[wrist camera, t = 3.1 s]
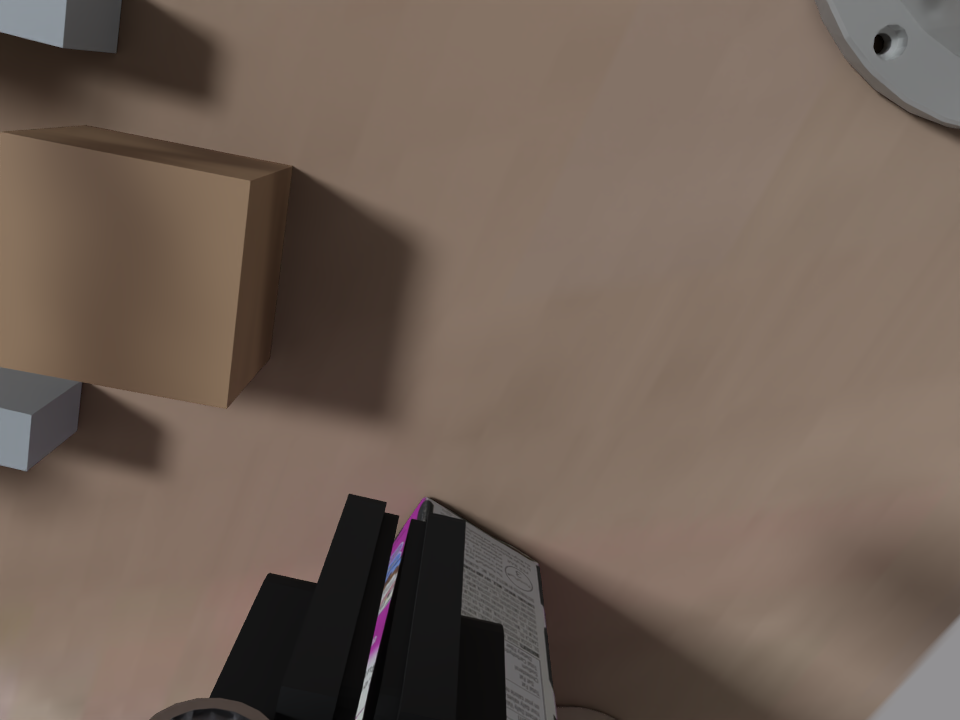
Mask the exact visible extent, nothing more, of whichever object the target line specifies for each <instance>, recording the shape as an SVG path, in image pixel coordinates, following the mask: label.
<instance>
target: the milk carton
mask: <svg viewBox="0 0 960 720" xmlns="http://www.w3.org/2000/svg"><path fill="white" fill-rule="evenodd" d="M428 512H432V513H436V514H441V515H445V516H449V517H454V518H458V519H463V518H462V517H460V516H459V515H457V514H455V513H454V512H452V511H451V510H449V509H447V508H445V507H443V506H441V505H440V504H438V503H436V502H435V501H433V500H432V499H430V498H428V497H424V498H423V499H422V500H421V502H420V503H419V505H418V506H417V508H416V509H415V511H414V512H413V514H412V515H411V516H410V518H409V519H408V521H407V522H406V524H405V525H404V527H403V528H402V530H401V531H400V532H399V534H398V535H397V537H396V538H395V540H394V543H393V547H392V552H391V557H390V561H389V566H388V571H387V575H386V580H385V585H384V589H383V594H382V599H381V603H380V608H379V613H378V617H377V622H376V627H375V632H374V636H373V641H372V646H371V650H370V655H369V660H368V664H367V669H366V674H365V678H364V683H363V688H362V692H361V696H360V701H359V705H358V709H357V714H356V718H355V720H362V718H363V713H364V708H365V703H366V699H367V694H368V690H369V685H370V681H371V677H372V673H373V669H374V665H375V661H376V657H377V653H378V649H379V645H380V641H381V637H382V633H383V629H384V625H385V621H386V617H387V613H388V609H389V605H390V601H391V597H392V593H393V589H394V585H395V581H396V577H397V573H398V569H399V565H400V561H401V557H402V553H403V548H404V544H405V540H406V536H407V532H408V528H409V525H410V521H411V518H412V519H416V520H421V521H426V517H427V514H428ZM463 520H465V519H463ZM461 615H464V616H468V617H473V618H477V619H482V620H486V621H491V622H495V623H500V624H502V625H503V629H504V647H505V680H506V713H507V720H557V710H556V703H555V694H554V691H553V681H552V674H551V663H550V655H549V644H548V636H547V628H546V618H545V610H544V602H543V592H542V584H541V575H540V567H539V564H538V563H537V562H536V561H534V560H533V559H531V558H530V557H528V556H527V555H525V554H524V553H522V552H521V551H519V550H518V549H516V548H515V547H513V546H511V545H509V544H507V543H505V542H503V541H501V540H499V539H497V538H495V537H493V536H491V535H489V534H487V533H486V532H484V531H482V530H481V529H479V528H477V527H476V526H474V525H473V524H471V523H470V522H468V521H467V520H466V531H465V550H464V569H463V588H462V607H461Z"/></svg>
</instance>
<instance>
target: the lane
mask: <svg viewBox="0 0 960 720" xmlns="http://www.w3.org/2000/svg"><path fill="white" fill-rule="evenodd" d="M121 3H122V0H0V32H3V33H6V34H10V35H14V36H18V37H22V38H26V39H30V40H34V41H38V42H42V43H45V44H49V45H53V46H57V47H61V48H68V49H78V50H88V51H98V52H107V53H116V51H117V42H118V32H119V23H120V13H121ZM81 388H82V382H78V381H73V380H67V379H62V378H57V377H51V376H46V375H40V374H35V373H30V372H24V371H19V370H13V369H8V368H3V367H0V465H2V466H6V467H10V468H15V469H19V470H24V471H28V470H29V469H30V468H31V467H33V466H34V465H35V464H36V463H38V462H39V461H40V460H41V459H43V458H44V457H45V456H46V455H48V454H49V453H50V452H51V451H53V450H54V449H55V448H56V447H57V446H59V445H60V444H61V443H62V442H64V441H65V440H66V439H67V438H69V437H70V436H71V435H72V434H74V433H75V432H76V431H77V426H78V417H79V407H80V397H81Z"/></svg>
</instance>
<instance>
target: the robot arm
mask: <svg viewBox="0 0 960 720" xmlns="http://www.w3.org/2000/svg"><path fill="white" fill-rule="evenodd" d="M815 2H816V5H817V7H818V10H819V13H820V16H821V19H822V21H823V23H824V25H825V26H826V28H827V30H828V31H829V33H830V35H831V36H832V38H833V39H834V41H835V43H836V44H837V46H838V48H839V49H840V51H841V53H842V54H843V56H844V57H845V59H846V60H847V61H848V62H849V63H850V64H851V65H852V66H853V67H854V68H855V69H856V70H857V72H858V73H859V74H860V75H861V76H862V77H863V78H864V79H865V80H866V81H867V82H868V83H869V84H870V85H871V86H872V87H873V88H874V89H875V90H876V91H878V92H879V93H881V94H882V95H884V96H885V97H887V98H888V99H890V100H891V101H893V102H894V103H896V104H897V105H899V106H900V107H902V108H903V109H905V110H906V111H908V112H910V113H912V114H915V115H918V116H920V117H923V118H925V119H928V120H930V121H933V122H936V123H938V124H941V125H943V126H946V127H950V128H957V129H960V0H815ZM877 34H879V35H880V36H882V38H883V40H884V47H883V49H882V50H881V52H880V53H878V54H876V53H875V51H874V48H873V45H874V38H875V36H876V35H877ZM386 503H387V502H383V501H379V500H374V499H370V498H366V497H361V496H357V495H352V494H349V495H348V498H347V501H346V504H345V506H344V509H343V512H342V515H341V518H340V521H339V523H338V526H337V529H336V532H335V535H334V538H333V540H332V543H331V546H330V549H329V552H328V555H327V557H326V560H325V563H324V566H323V569H322V572H321V574H320V577H319V580H318V583H313V582H309V581H304V580H299V579H295V578H290V577H286V576H281V575H277V574H272V573H269V574H267V576H266V578H265V580H264V582H263V584H262V586H261V588H260V590H259V592H258V595H257V597H256V599H255V601H254V603H253V605H252V607H251V610H250V612H249V614H248V616H247V618H246V620H245V622H244V625H243V627H242V629H241V631H240V633H239V635H238V637H237V640H236V642H235V644H234V646H233V648H232V650H231V652H230V655H229V657H228V659H227V661H226V663H225V665H224V667H223V670H222V672H221V674H220V676H219V678H218V680H217V682H216V685H215V687H214V689H213V691H212V693H211V695H210V697H209V698H197V699H193V700H188V701H184V702H180V703H176V704H174V705H172V706H170V707H168V708H166V709H164V710H162V711H160V712H158V713H156V714H155V715H154V716H153V717H152V718H151V719H150V720H355V718H356V714H357V709H358V705H359V701H360V696H361V692H362V688H363V683H364V678H365V674H366V669H367V664H368V660H369V655H370V650H371V646H372V641H373V636H374V632H375V627H376V622H377V617H378V613H379V608H380V603H381V599H382V594H383V589H384V585H385V580H386V575H387V571H388V566H389V561H390V557H391V552H392V547H393V543H394V538H395V533H396V529H397V524H398V519H399V515H394V514H390V513H385V508H386ZM465 531H466V520H463V519H458V518H454V517H449V516H445V515H441V514H436V513H432V512H428V514H427V517H426V521H421V520H416V519H412V518H411V521H410V525H409V528H408V532H407V536H406V540H405V544H404V548H403V553H402V557H401V561H400V565H399V569H398V573H397V577H396V581H395V585H394V589H393V593H392V597H391V601H390V605H389V609H388V613H387V617H386V621H385V625H384V629H383V633H382V637H381V641H380V645H379V649H378V653H377V657H376V661H375V665H374V669H373V673H372V677H371V681H370V685H369V690H368V694H367V699H366V703H365V708H364V713H363V718H362V720H507V713H506V680H505V647H504V629H503V625H502V624H500V623H495V622H491V621H486V620H482V619H477V618H473V617H468V616H464V615H461V607H462V588H463V569H464V550H465Z"/></svg>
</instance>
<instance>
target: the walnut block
mask: <svg viewBox="0 0 960 720" xmlns="http://www.w3.org/2000/svg"><path fill="white" fill-rule="evenodd" d="M292 168H293V166H290V165H285V164H280V163H275V162H270V161H264V160H259V159H254V158H249V157H244V156H239V155H234V154H229V153H224V152H219V151H214V150H209V149H204V148H199V147H194V146H188V145H183V144H178V143H173V142H168V141H163V140H158V139H153V138H148V137H143V136H138V135H133V134H128V133H123V132H118V131H112V130H107V129H102V128H97V127H92V126H87V125H85V126H71V127H58V128H45V129H31V130H18V131H5V132H0V367H3V368H8V369H13V370H19V371H24V372H30V373H35V374H40V375H46V376H51V377H57V378H62V379H67V380H73V381H78V382H84V383H89V384H95V385H100V386H105V387H111V388H116V389H122V390H127V391H132V392H138V393H143V394H149V395H154V396H159V397H165V398H170V399H176V400H181V401H187V402H192V403H197V404H203V405H208V406H214V407H219V408H224V409H227V408H228V407H229V405H230V404H231V403H232V402H233V401H234V400H235V398H236V397H237V396H238V395H239V394H240V393H241V391H242V390H243V389H244V388H245V387H246V386H247V384H248V383H249V382H250V381H251V380H252V379H253V377H254V376H255V375H256V374H257V373H258V372H259V370H260V369H261V368H262V367H263V366H264V365H265V363H266V362H267V361H268V360H269V359H270V352H271V344H272V336H273V327H274V319H275V310H276V302H277V294H278V285H279V277H280V268H281V260H282V252H283V243H284V235H285V227H286V218H287V210H288V201H289V193H290V185H291V176H292Z"/></svg>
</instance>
